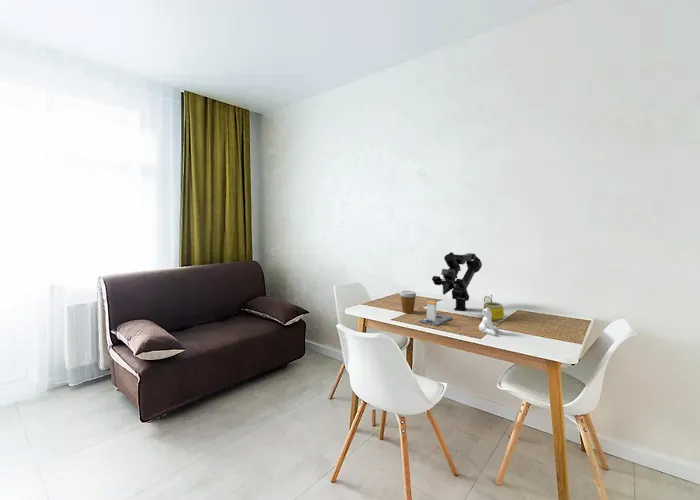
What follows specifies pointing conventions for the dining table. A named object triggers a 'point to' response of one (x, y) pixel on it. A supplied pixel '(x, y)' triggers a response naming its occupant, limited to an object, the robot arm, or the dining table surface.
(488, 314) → the seated beast figurine
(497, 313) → the yellow round tub
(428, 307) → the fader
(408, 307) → the disposable coffee cup
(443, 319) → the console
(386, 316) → the dining table surface
